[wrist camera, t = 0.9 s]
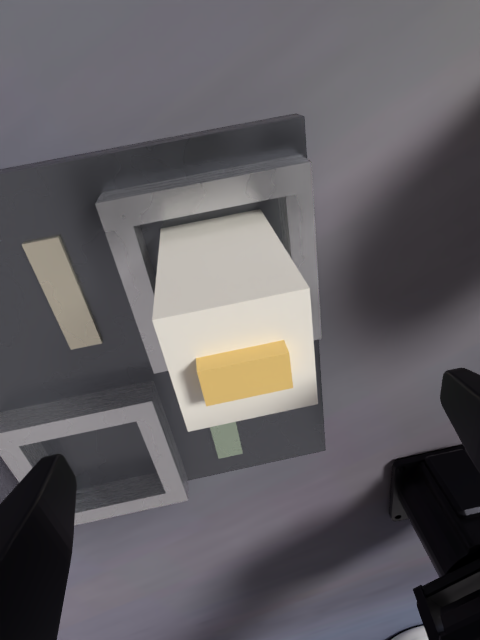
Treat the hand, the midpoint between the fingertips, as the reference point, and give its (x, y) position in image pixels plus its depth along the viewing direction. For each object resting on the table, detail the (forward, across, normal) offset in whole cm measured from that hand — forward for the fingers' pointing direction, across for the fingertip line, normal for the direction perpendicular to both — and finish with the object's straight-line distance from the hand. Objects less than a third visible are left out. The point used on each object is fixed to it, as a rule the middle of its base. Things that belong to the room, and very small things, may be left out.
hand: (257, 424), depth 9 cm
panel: (+10, +4, +4) cm, 12 cm away
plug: (+9, 0, 0) cm, 9 cm away
